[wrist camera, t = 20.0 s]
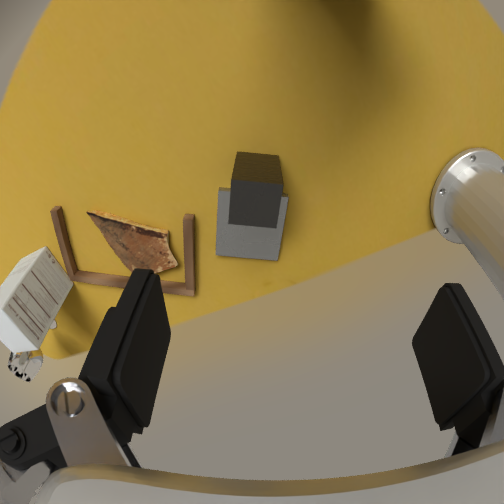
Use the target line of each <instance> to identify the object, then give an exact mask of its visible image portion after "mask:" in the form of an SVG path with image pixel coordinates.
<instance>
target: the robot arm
mask: <svg viewBox="0 0 504 504" xmlns="http://www.w3.org/2000/svg"><path fill="white" fill-rule="evenodd" d="M430 210H431V217H432V220H433V223H434V225H435V227H436V228H437V230H438V231H439V233H440V234H441V235H442V236H443V237H445V238H446V239H447V240H448V241H451V242H453V243H459V244H465V246H466V247H467V248H468V250H469V251H470V252H471V254H472V255H473V256H474V257H475V259H476V260H477V262H478V263H479V265H480V266H481V267H482V269H483V270H484V271H485V273H486V274H487V276H488V277H489V279H490V280H491V282H492V283H493V284H494V286H495V288H496V289H497V291H498V292H499V294H500V295H501V297H502V298H503V300H504V161H503V160H502V159H501V158H500V157H499V156H498V155H497V154H495V153H494V152H492V151H490V150H488V149H485V148H471V149H468V150H465V151H463V152H461V153H460V154H458V155H456V156H455V157H454V158H453V159H452V160H451V161H449V162H448V163H447V165H446V166H445V167H444V169H443V170H442V171H441V173H440V175H439V177H438V178H437V180H436V183H435V185H434V188H433V191H432V196H431V205H430ZM170 337H171V331H170V326H169V321H168V316H167V312H166V307H165V302H164V297H163V292H162V287H161V281H160V277H159V275H158V274H154V271H153V270H152V269H140V268H135V269H134V270H133V272H132V274H131V276H130V278H129V280H128V282H127V284H126V286H125V288H124V291H123V293H122V295H121V297H120V299H119V301H118V303H117V306H116V307H111V308H109V309H108V311H107V313H106V315H105V317H104V319H103V321H102V323H101V326H100V328H99V330H98V332H97V335H96V337H95V339H94V341H93V344H92V346H91V348H90V351H89V353H88V355H87V358H86V360H85V363H84V365H83V367H82V370H81V372H80V375H79V377H78V379H77V378H65V379H61V380H59V381H57V382H56V383H54V385H53V386H52V387H51V388H50V389H49V391H48V393H47V396H46V404H44V405H42V406H40V407H39V408H36V409H35V410H33V411H30V412H28V413H27V414H25V415H22V416H21V417H18V418H16V419H14V420H12V421H10V422H8V423H6V424H5V425H3V426H2V427H0V504H29V502H30V500H31V498H32V497H33V496H34V495H35V494H36V492H35V490H36V489H37V488H38V487H39V486H40V485H41V484H43V485H42V486H41V488H40V491H39V493H38V495H37V498H36V500H35V503H34V504H504V365H503V363H502V361H501V359H500V356H499V354H498V352H497V350H496V348H495V346H494V344H493V342H492V340H491V338H490V336H489V334H488V332H487V330H486V328H485V326H484V324H483V322H482V320H481V318H480V316H479V315H478V313H477V311H476V309H475V307H474V306H473V304H472V302H471V300H470V299H469V297H468V295H467V293H466V292H465V290H464V288H463V287H462V285H461V284H459V283H445V284H444V285H443V287H441V288H440V289H439V291H438V293H437V295H436V296H435V298H434V300H433V302H432V304H431V306H430V308H429V310H428V312H427V314H426V315H425V317H424V319H423V321H422V323H421V325H420V326H419V328H418V330H417V332H416V333H415V335H414V337H413V340H412V346H413V349H414V352H415V355H416V358H417V361H418V364H419V367H420V370H421V373H422V377H423V380H424V383H425V386H426V390H427V393H428V397H429V400H430V403H431V407H432V411H433V414H434V418H435V421H436V423H437V424H439V427H440V431H442V430H446V429H451V428H453V427H454V426H455V430H456V432H455V434H454V436H453V439H452V441H451V444H450V446H449V448H448V451H447V453H446V455H445V457H444V459H439V460H436V461H432V462H428V463H424V464H420V465H415V466H410V467H405V468H400V469H395V470H390V471H384V472H378V473H372V474H365V475H357V476H349V477H339V478H330V479H329V478H328V479H313V480H287V481H285V480H282V481H271V480H269V481H268V480H265V481H264V480H239V479H224V478H212V477H202V476H192V475H184V474H177V473H170V472H164V471H158V470H150V469H144V468H143V466H142V465H141V463H140V461H139V460H138V458H137V456H136V455H135V453H134V451H133V450H132V448H131V446H130V444H129V442H130V441H131V438H132V434H133V433H138V434H142V432H143V428H144V427H148V426H149V424H150V420H151V415H152V411H153V407H154V403H155V398H156V394H157V390H158V386H159V382H160V378H161V374H162V369H163V366H164V362H165V358H166V354H167V350H168V346H169V342H170Z"/></svg>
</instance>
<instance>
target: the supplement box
mask: <svg viewBox="0 0 504 504" xmlns="http://www.w3.org/2000/svg"><path fill="white" fill-rule="evenodd" d="M72 286H73V282H72V281H70V279H69V276H68V275H67V274H66V272H65V271H64V270H63V268H62V267H61V266H60V264H59V263H58V262H57V260H56V259H55V257H54V256H53V255H52V253H51V252H50V250H49V249H48V248H47V247H46V246H45V247H43V248H41V249H39V250H37V251H35V252H33V253H31V254H29V255H27V256H26V257H24V258H22V259H20V261H19V262H18V263H17V265H16V266H15V267H14V269H13V270H12V271H11V273H10V274H9V275H8V277H7V278H6V279H5V281H4V282H3V283H2V285H1V286H0V340H1V341H2V342H3V343H4V344H5V346H7V347H8V349H9V350H11V351H12V352H13V353H18V352H26V351H34V350H39V348H40V346H41V344H42V342H43V340H44V338H45V336H46V334H47V332H48V330H49V328H50V326H51V324H52V322H53V321H54V319H55V317H56V315H57V313H58V311H59V309H60V308H61V306H62V304H63V302H64V300H65V299H66V297H67V295H68V293H69V291H70V290H71V288H72Z"/></svg>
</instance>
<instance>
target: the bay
mask: <svg viewBox="0 0 504 504" xmlns="http://www.w3.org/2000/svg"><path fill="white" fill-rule="evenodd" d="M50 212H51V216H52V220H53V224H54V228H55V232H56V236H57V239H58V243H59V247H60V250H61V254H62V257H63V260H64V263H65V267H66V270H67V273H68V276H69V279H70V281H77V282H84V283H90V284H97V285H105V286H112V287H119V288H125V286H126V284H127V282H128V280H129V278H130V277H127V276H118V275H110V274H102V273H95V272H87V271H80V270H77V267H76V264H75V260H74V257H73V253H72V249H71V245H70V242H69V238H68V234H67V230H66V225H65V221H64V217H63V212H62V208H61V206H55V207H54V208H53V209H52V210H51V211H50ZM183 237H184V263H185V283H180V282H171V281H161V280H160V281H161V287H162V292H163V293H168V294H177V295H186V296H194V294H195V244H194V215H193V214H185V216H184V218H183Z"/></svg>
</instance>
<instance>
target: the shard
mask: <svg viewBox="0 0 504 504" xmlns="http://www.w3.org/2000/svg"><path fill="white" fill-rule="evenodd" d="M87 214H88V215H89V216H90V217H91V219H92V221H93V222H94V224H95V225H96V226H97V227H98V228H99V229H100V231H101V233H102V234H103V236H104V237H105V239H106V241H107V242H108V244H109V245H110V247H111V248H112V249H113V250H114V252H115V254H116V255H117V256H118V257H119V258H120V260H121V261H122V263H123V264H124V265H125V266H126V267H127V268H128V269H129V270H130V271H131V272H133V270H134V269H135V268H140V269H152V270H153V271H154V274H155V273H158V272H161V271H164V270H166V269H171V268H174V267H176V266H177V265H178V262H177V261H176V259H175V258H174V256H173V254H172V253H171V251H170V249H169V231H168V230H166V229H158V228H152V227H149V226H147V225H142V224H139V223H136V222H134V221H132V220H128V219H126V218H122V217H120V216H116V215H114V214H111V213H106V212H100V211H92V212H90V211H87Z"/></svg>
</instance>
